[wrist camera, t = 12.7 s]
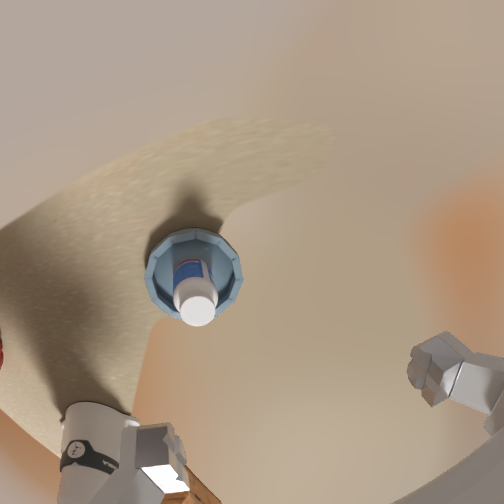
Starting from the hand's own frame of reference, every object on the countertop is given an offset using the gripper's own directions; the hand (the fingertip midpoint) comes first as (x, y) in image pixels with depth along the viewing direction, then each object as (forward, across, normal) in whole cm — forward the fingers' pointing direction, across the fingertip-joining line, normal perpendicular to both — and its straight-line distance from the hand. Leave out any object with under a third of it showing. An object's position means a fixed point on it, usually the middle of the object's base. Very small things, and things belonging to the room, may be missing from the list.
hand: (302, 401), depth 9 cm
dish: (+34, -4, -10) cm, 36 cm away
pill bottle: (+34, -4, -10) cm, 35 cm away
